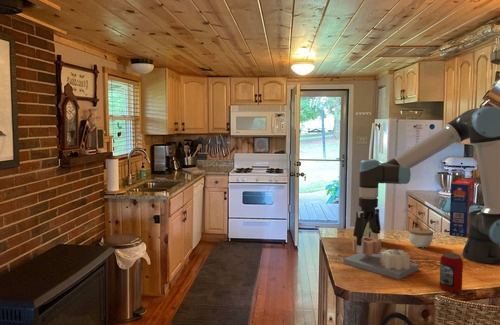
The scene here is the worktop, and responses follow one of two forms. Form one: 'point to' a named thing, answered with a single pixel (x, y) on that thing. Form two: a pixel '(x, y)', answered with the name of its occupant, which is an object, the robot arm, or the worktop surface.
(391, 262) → the cream gear
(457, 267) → the beverage can
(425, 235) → the lidded jar
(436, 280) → the worktop surface
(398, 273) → the gear board
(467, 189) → the pasta box
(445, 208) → the teapot
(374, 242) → the rust gear
